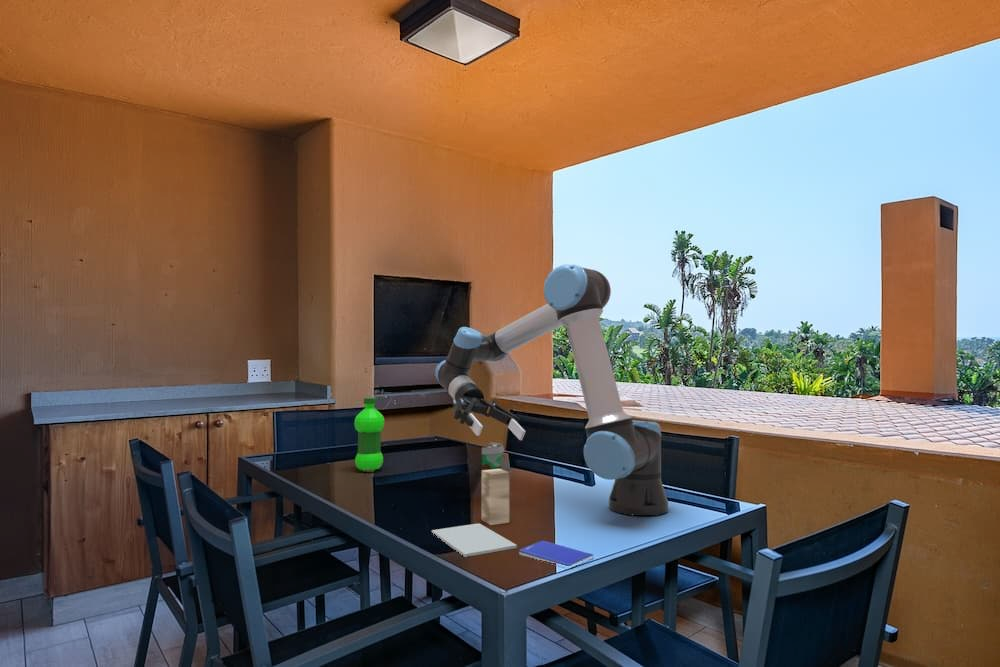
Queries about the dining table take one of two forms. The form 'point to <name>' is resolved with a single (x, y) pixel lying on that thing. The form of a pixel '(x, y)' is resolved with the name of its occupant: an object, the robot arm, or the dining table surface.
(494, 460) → the food container
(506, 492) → the birch block
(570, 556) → the hard drive
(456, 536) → the rubber mat
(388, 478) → the dining table surface
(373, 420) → the plastic bottle
